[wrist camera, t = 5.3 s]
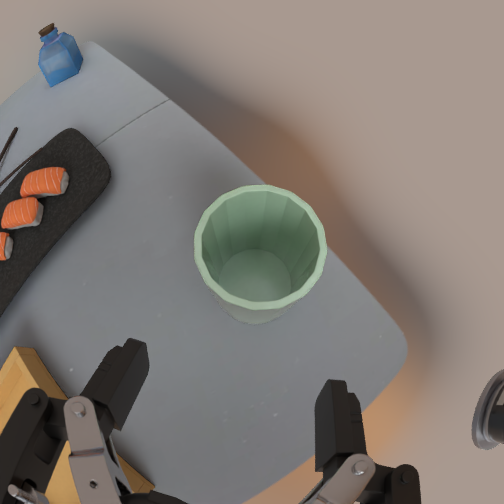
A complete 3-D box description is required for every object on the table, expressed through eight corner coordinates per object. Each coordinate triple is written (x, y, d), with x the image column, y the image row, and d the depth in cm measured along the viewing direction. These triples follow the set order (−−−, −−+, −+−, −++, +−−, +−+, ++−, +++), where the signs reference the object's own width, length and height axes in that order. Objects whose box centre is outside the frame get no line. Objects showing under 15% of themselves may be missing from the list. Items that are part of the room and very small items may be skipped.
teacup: (309, 280, 23) (350, 237, 14) (258, 340, 22) (269, 338, 12) (250, 232, 25) (253, 164, 15) (198, 287, 23) (167, 247, 14)
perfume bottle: (83, 59, 36) (64, 14, 25) (78, 73, 34) (56, 25, 23) (57, 71, 35) (36, 30, 24) (50, 87, 34) (26, 42, 22)
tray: (155, 486, 17) (145, 501, 14) (82, 536, 12) (71, 546, 10) (33, 348, 20) (14, 346, 17) (-12, 424, 16) (-28, 426, 13)
